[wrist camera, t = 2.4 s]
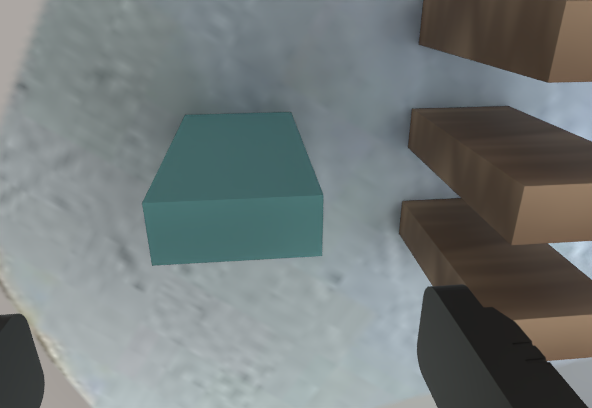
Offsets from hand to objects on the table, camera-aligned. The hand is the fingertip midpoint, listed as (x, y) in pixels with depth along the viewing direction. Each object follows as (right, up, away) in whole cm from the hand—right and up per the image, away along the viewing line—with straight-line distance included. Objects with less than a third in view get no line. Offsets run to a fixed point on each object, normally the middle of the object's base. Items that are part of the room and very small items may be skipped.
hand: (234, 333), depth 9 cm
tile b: (+10, +7, +14) cm, 18 cm away
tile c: (+10, +11, +12) cm, 19 cm away
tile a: (+10, +2, +16) cm, 19 cm away
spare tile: (-1, +6, +13) cm, 14 cm away
